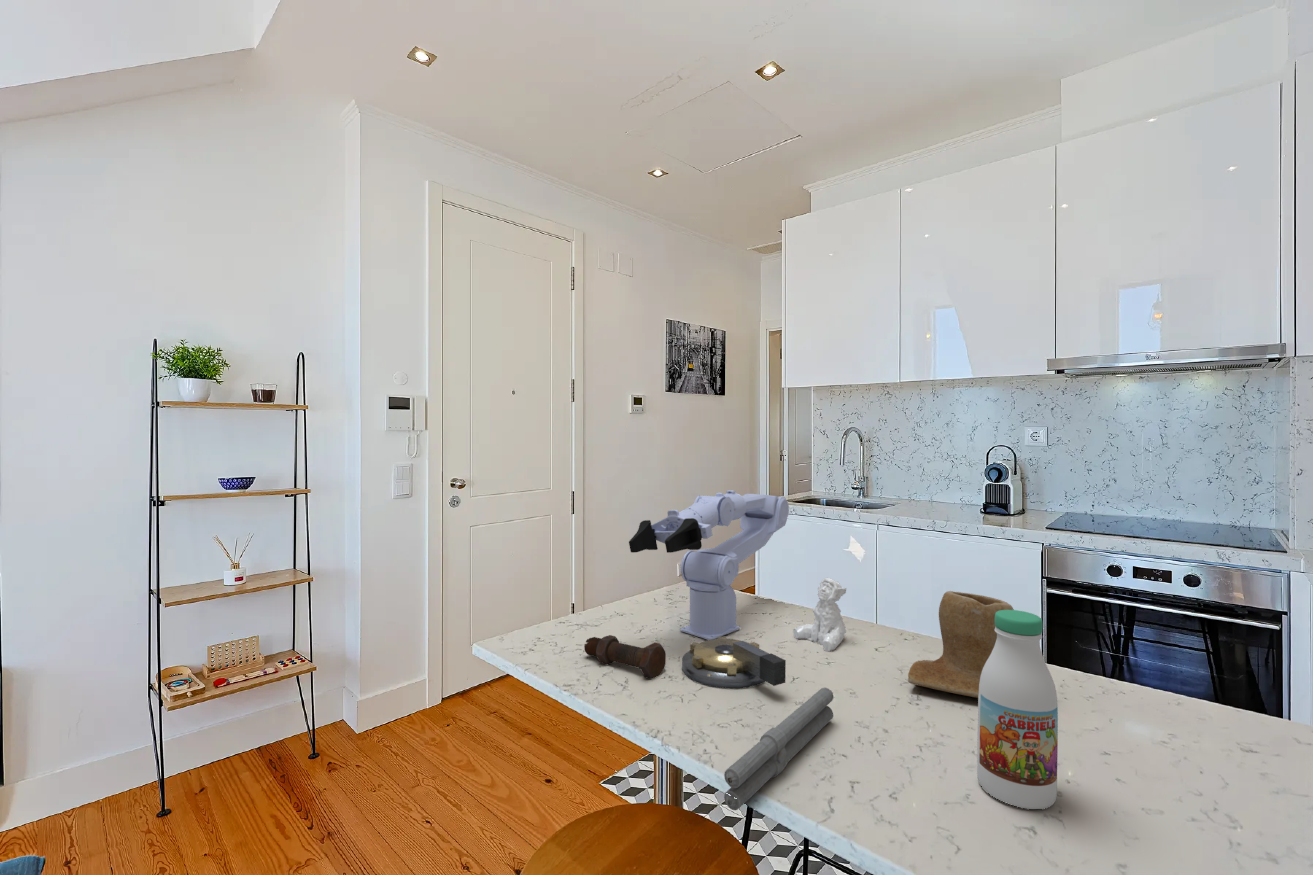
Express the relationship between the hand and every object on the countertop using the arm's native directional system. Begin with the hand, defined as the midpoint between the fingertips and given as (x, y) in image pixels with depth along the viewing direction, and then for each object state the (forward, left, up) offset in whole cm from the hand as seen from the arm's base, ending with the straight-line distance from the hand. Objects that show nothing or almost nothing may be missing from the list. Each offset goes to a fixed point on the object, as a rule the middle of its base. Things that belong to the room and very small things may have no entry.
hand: (648, 546), depth 103 cm
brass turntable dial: (-7, +14, -19) cm, 24 cm away
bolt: (+3, -3, -21) cm, 21 cm away
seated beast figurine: (-32, +16, -21) cm, 41 cm away
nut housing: (-8, +11, -20) cm, 24 cm away
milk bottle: (-4, +55, -21) cm, 58 cm away
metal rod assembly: (+9, +33, -21) cm, 40 cm away
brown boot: (-28, +42, -21) cm, 54 cm away
